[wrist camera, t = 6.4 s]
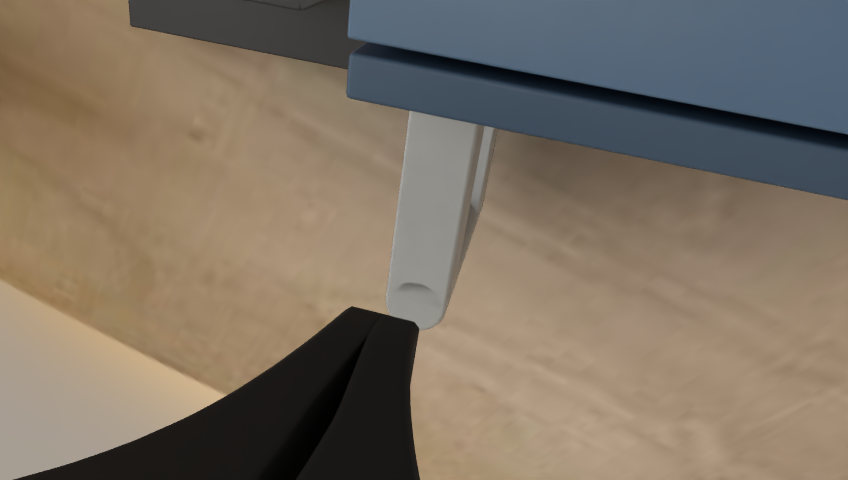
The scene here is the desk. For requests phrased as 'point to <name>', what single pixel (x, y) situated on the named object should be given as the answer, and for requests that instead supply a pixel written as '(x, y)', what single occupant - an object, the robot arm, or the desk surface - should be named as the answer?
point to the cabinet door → (557, 120)
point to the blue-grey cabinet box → (644, 47)
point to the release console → (257, 25)
